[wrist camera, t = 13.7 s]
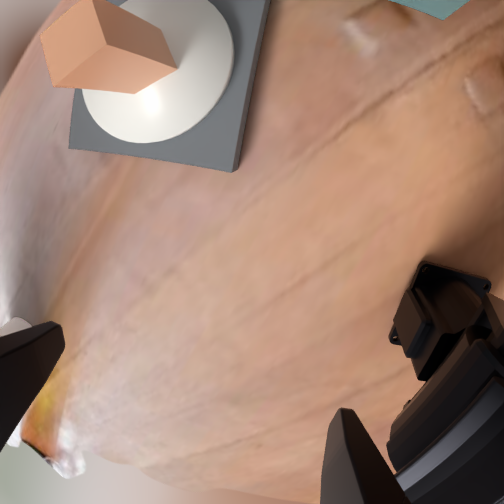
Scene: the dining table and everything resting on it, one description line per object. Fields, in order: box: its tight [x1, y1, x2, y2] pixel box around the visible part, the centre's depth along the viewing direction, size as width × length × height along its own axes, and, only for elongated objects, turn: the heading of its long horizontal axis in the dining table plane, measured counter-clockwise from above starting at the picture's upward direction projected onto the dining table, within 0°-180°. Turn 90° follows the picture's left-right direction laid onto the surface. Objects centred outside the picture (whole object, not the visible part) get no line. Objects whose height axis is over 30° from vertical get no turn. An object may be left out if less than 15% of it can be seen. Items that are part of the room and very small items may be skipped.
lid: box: [40, 0, 235, 143], centre depth 13 cm, size 10×10×8 cm
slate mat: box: [69, 0, 271, 173], centre depth 17 cm, size 12×12×2 cm
